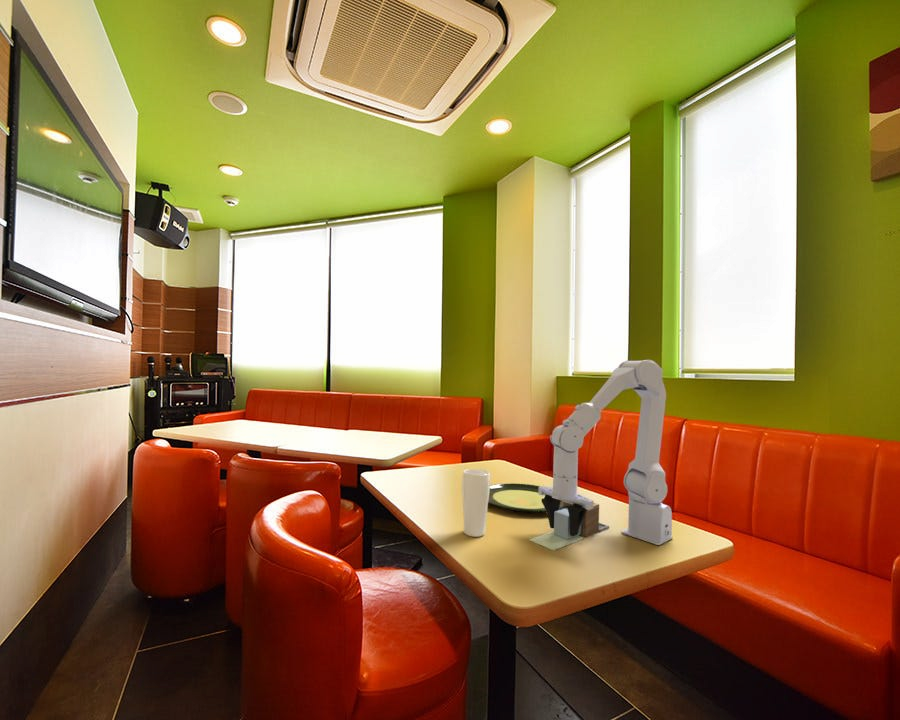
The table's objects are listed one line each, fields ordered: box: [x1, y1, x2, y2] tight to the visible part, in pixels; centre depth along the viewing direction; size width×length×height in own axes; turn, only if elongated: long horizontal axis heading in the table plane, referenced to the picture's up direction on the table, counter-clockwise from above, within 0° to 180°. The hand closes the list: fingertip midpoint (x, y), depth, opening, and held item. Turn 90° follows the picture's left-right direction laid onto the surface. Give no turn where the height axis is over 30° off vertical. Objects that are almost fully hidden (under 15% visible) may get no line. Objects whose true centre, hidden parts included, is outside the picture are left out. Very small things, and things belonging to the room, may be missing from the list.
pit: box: [598, 522, 610, 533], centre depth 110 cm, size 7×4×1 cm, turn 40°
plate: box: [488, 482, 564, 513], centre depth 129 cm, size 28×28×2 cm
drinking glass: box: [461, 468, 491, 538], centre depth 102 cm, size 7×7×15 cm
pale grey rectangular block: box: [553, 508, 583, 540], centre depth 105 cm, size 4×12×6 cm, turn 130°
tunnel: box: [562, 501, 600, 538], centre depth 106 cm, size 7×6×7 cm
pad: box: [528, 530, 585, 552], centre depth 100 cm, size 7×12×1 cm, turn 130°
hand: (563, 531), depth 102 cm, fingers open, 5 cm apart
